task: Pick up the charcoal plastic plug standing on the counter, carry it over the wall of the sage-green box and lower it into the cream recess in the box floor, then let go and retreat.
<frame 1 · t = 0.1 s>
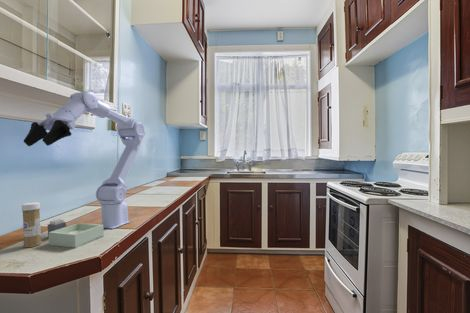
hand: (35, 143, 78), 32 cm above the counter, tool tilted 50°, fingers open, 7 cm apart
green box: (77, 240, 88), on the counter
sprinkles bottle: (32, 245, 85), on the counter
grey plug: (57, 236, 94), on the counter
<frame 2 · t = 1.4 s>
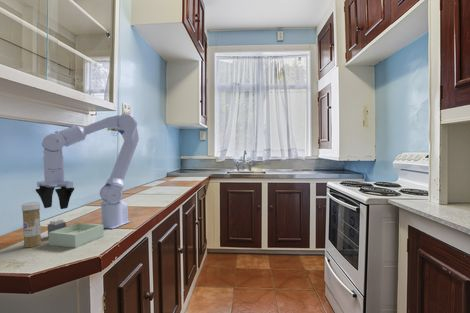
hand: (55, 208, 93), 10 cm above the counter, tool pointing down, fingers open, 7 cm apart
nothing on the counter moved.
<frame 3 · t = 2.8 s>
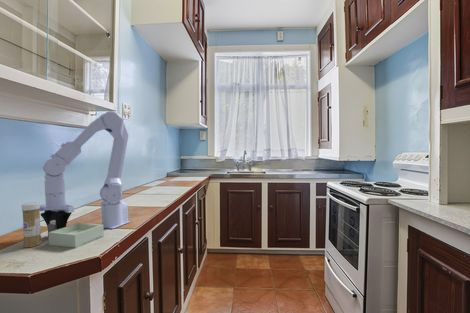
hand: (57, 231, 94), 1 cm above the counter, tool pointing down, fingers closed on grey plug, 3 cm apart
grey plug: (57, 236, 94), on the counter, touching gripper
everything else where it was.
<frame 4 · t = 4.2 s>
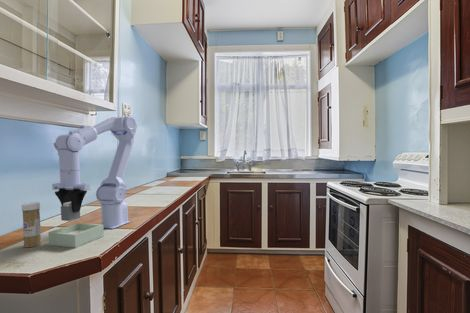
hand: (71, 211, 89), 9 cm above the counter, tool pointing down, fingers closed on grey plug, 3 cm apart
grey plug: (70, 218, 89), point 7 cm above the counter, touching gripper
everything else where it was.
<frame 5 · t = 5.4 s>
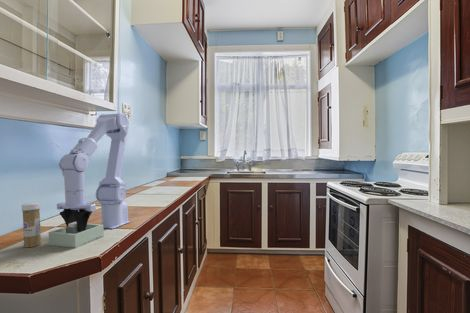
hand: (77, 231, 88), 3 cm above the counter, tool pointing down, fingers closed on grey plug, 3 cm apart
grey plug: (75, 239, 88), resting on green box, touching gripper
everything else where it was.
when the fingers open (3 cm above the counter, at t = 5.9 s): grey plug stays where it is, resting on green box.
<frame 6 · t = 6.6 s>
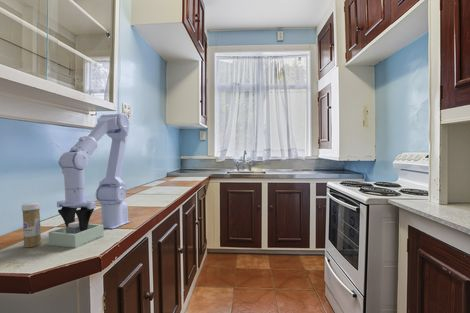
hand: (77, 229, 88), 4 cm above the counter, tool pointing down, fingers open, 5 cm apart
grey plug: (75, 239, 88), resting on green box
everything else where it was.
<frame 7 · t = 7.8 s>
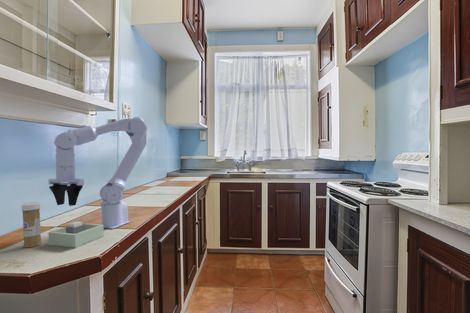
hand: (66, 205, 95), 10 cm above the counter, tool pointing down, fingers open, 5 cm apart
nothing on the counter moved.
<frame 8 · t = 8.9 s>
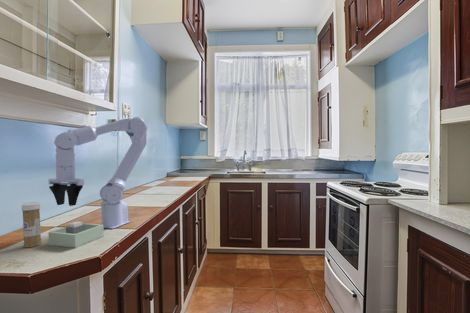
hand: (66, 205, 95), 10 cm above the counter, tool pointing down, fingers open, 5 cm apart
nothing on the counter moved.
at the end: grey plug 0.6 cm off-centre on the green box, point 0.5 cm above the green box's base; grey plug tilted 0°; the gripper is holding nothing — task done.
